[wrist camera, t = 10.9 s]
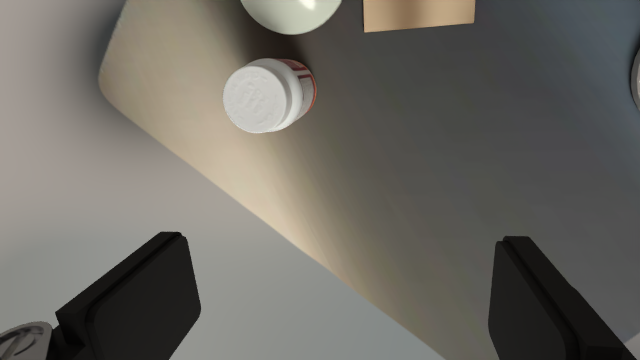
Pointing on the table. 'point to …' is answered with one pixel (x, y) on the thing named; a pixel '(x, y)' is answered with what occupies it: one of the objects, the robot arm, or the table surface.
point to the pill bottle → (268, 94)
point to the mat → (416, 13)
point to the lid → (291, 14)
